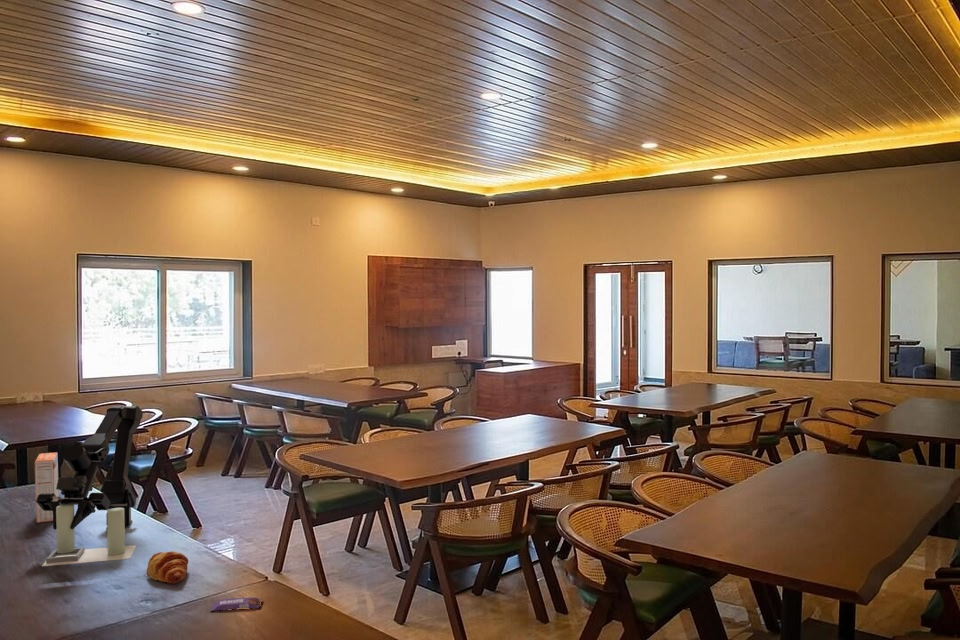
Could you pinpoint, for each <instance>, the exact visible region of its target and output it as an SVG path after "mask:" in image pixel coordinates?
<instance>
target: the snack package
mask: <svg viewBox="0 0 960 640" xmlns="http://www.w3.org/2000/svg"><path fill="white" fill-rule="evenodd" d="M261 599H262V598H261ZM261 599H260V598H258V597H256V596H255V597H253V596H251V597H249V596H248V597H235V598H223V599H220V600H218V601H215V602H213V604H212V606H211V607H210V610H209V611H212V612H213V611H215V612H220V611H219V610H228V609H237V608H256V609H260V608H261V607H260V605H261V604H260V602H261V601H260V600H261ZM261 606H262V605H261ZM259 607H260V608H259ZM217 610H218V611H217Z"/></svg>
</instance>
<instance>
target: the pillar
mask: <svg viewBox="0 0 960 640" xmlns="http://www.w3.org/2000/svg"><path fill="white" fill-rule="evenodd" d="M74 516H75V505H73V504H66V505H60V506H57V507H56V525H57V529H56V550H57V552H58V553H67V552H71V551H74V550H75V548H76V543H75V539H76V538H75V536H76V535H75V533H76V531H75V529H76V528H74V529H71V528H70V527H71V523H72V521H73V518H74Z"/></svg>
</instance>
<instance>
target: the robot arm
mask: <svg viewBox="0 0 960 640" xmlns="http://www.w3.org/2000/svg"><path fill="white" fill-rule="evenodd" d="M143 413H144V412H143V410H142V409H141V408H140V406H138V405H134V406H133V405H128V406H127V405H125V406H123V405H120V406H117V405H116V406H114V405H112V406H110V407H109V406H108V408H107V409H106V414H105V415H104V417H103V419H102V420H101V422H100V424H99V425H98V427H97V428H96V431H95V432H94V433H93V434H92V435H91V436H90V437H88V438H86V439H85V440H84V441H83V442H82V441H74V442H73V445H69V446H68V447H66V448H65V449H64V450H63V452H62V454H61V456H62V459H63V461H64V463H66V465H67V466H68V468H69V469H70V470H71V472H73V474H72V477H58V482H57V487H56V489H57V490H59V491H60V494H61V496H63V497H60V496H59V497H57V496H55V494H54V493H41V494H39V495H38V497H37V499H36V498H35V503H36V502H37V503H38V505H39V506H40V507H41V508H42V510H44V511H53V521H52V528H53V530H54V531H57V525H56V507H57V506H60V505H66V504H73V505H74V506H75V505H77V510H76V512H75V513H74V518H73V521H72V523H71V527H70V528H71V529H76V527H77V526H79V524H80V523H82V522H83V521H84V520H85V519H86V518H87V517H89V516H90V515H92V514H94V513H96V509H97V511H107V510H109V509H112V508H124V526H125V528H129V527H130V526H131V524H132V523H133V520H132V508H134V507H136V503H137V497H136V496H135V494H134V492H133V490H132V484H131V481H130V480H129V478H128V475H129V466H130V461H131V451H132V446H133V445H132V444H133V439H134V438H133V437H134V434H135V432H136V431H137V429H138V428H139V427H140V425H141V422H142V419H143V415H144V414H143ZM116 431H117V432H116ZM115 433H117V434H116V441H115V448H114V455H113V460H112V461H113V462H112V469H111V475H110V477H109V478H108V479H106V480H104V482H103V487H102V491H101V492H92V491H93V489H94V487H93V486H92V485H93V482H94V480H95V477H96V475H100V469H99V467H98V465H97V464H96V463H95V462H99V463H100V462H101V463H102V462H105V460H106V459H107V458H108V456H109V453H110V446H109V444H110V441H111V439H112V438H113V436H114V435H115ZM105 515H106V516H105V518H106V520H107V512H106V514H105Z"/></svg>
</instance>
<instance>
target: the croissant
mask: <svg viewBox="0 0 960 640" xmlns="http://www.w3.org/2000/svg"><path fill="white" fill-rule="evenodd" d="M147 563H148V564H147V568H146V576H147V577H150V578H151V579H152V580H154V579H155V580H154V581H156V580H159V582H163V583H165V582H167V584H177V583H179V582H181V581H182V580H184V579H185V578H186V575H187V574H186V573H187V572H188V565H189V558H188V557H187V556H186V555H185V554H184V553H182V552H178V551H164V552H162V551H160V552H157V553H154V554H153V555H151V556H150V558H149V560H148V562H147ZM180 580H181V581H180Z"/></svg>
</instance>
